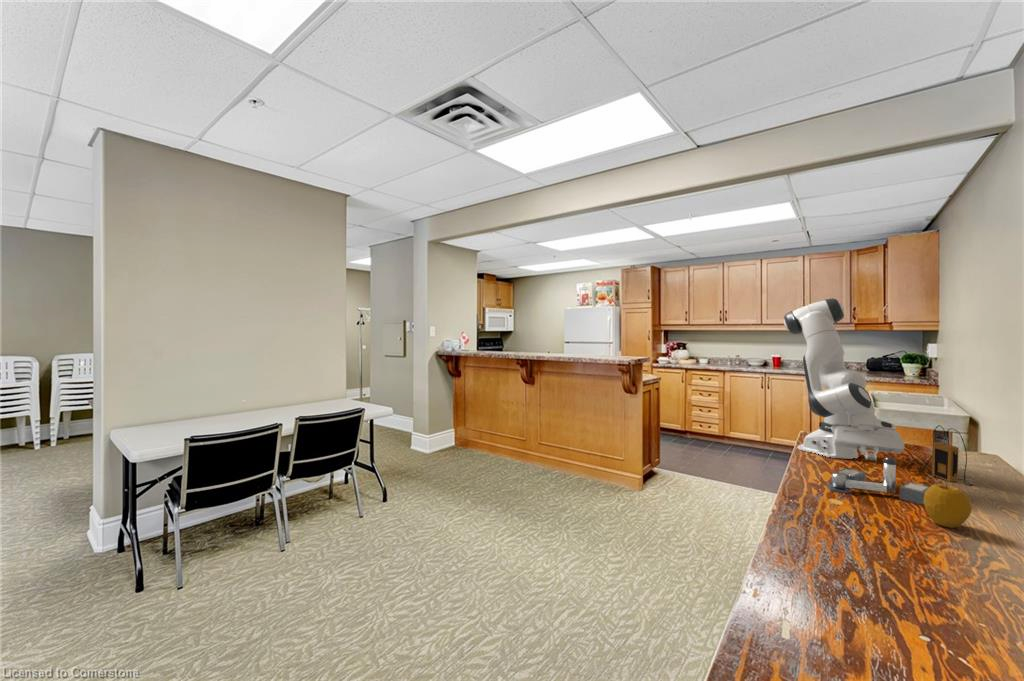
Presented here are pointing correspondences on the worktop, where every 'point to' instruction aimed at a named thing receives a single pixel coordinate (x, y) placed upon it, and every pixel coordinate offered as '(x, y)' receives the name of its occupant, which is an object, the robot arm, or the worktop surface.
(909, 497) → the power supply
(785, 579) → the worktop surface
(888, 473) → the grey crank handle
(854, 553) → the worktop surface
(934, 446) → the multimeter
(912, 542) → the worktop surface
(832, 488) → the arm mount
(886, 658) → the worktop surface
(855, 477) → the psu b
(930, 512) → the apple
